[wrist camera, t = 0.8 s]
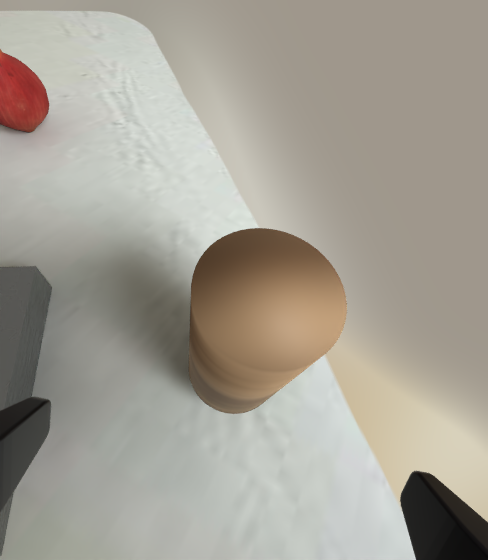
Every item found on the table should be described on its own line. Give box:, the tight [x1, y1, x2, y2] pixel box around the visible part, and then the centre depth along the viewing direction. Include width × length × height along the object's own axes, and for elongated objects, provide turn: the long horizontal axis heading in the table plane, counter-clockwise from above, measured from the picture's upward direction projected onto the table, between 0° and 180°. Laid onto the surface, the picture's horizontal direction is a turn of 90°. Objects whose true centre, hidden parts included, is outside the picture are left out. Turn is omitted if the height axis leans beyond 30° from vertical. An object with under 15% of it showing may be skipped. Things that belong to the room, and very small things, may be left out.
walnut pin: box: [189, 228, 347, 414], centre depth 17 cm, size 6×6×13 cm
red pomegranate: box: [0, 49, 49, 132], centre depth 29 cm, size 6×6×8 cm
